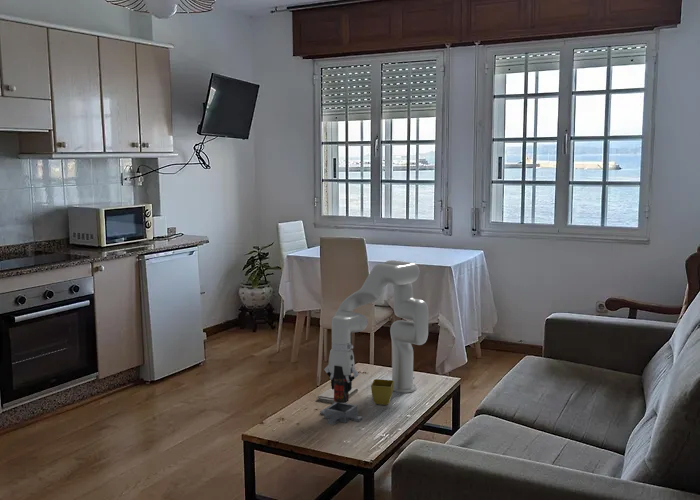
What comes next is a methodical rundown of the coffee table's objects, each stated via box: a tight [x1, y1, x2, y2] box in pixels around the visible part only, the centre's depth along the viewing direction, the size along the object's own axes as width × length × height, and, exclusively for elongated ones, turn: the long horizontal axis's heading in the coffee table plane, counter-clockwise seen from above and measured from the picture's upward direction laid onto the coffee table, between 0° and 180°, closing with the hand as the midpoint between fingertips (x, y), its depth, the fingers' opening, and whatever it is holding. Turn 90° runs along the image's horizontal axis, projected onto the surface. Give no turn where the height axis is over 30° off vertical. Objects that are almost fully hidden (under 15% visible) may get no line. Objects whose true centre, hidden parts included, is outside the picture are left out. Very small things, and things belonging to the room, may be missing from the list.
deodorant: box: [334, 365, 350, 403], centre depth 268 cm, size 6×6×15 cm
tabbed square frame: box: [320, 402, 363, 426], centre depth 270 cm, size 18×18×4 cm
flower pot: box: [370, 378, 394, 406], centre depth 285 cm, size 9×9×9 cm
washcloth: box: [317, 387, 359, 404], centre depth 294 cm, size 12×18×3 cm, turn 154°
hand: (341, 389), depth 269 cm, fingers closed on deodorant, 5 cm apart
